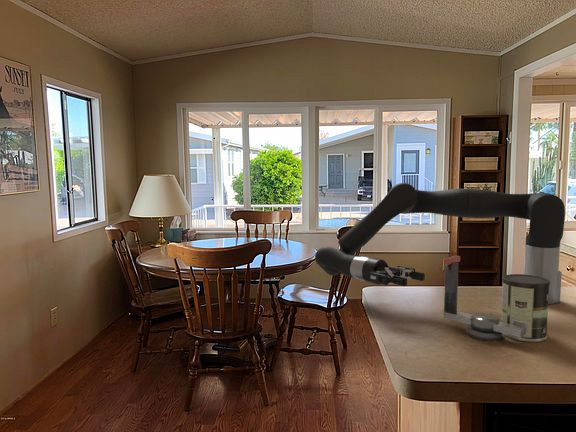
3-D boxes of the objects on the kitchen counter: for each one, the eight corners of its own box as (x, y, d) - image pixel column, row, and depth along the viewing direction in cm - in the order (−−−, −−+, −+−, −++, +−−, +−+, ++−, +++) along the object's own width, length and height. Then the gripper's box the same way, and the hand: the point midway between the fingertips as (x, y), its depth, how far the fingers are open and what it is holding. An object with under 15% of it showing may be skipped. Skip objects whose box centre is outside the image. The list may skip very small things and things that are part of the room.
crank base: (508, 340, 106) (509, 334, 106) (477, 341, 105) (477, 335, 105) (490, 328, 114) (490, 322, 114) (460, 329, 113) (460, 323, 113)
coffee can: (538, 328, 114) (541, 274, 113) (553, 343, 104) (557, 284, 103) (495, 325, 116) (497, 272, 115) (506, 340, 106) (509, 283, 105)
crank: (528, 334, 105) (531, 266, 103) (517, 341, 101) (520, 270, 99) (450, 314, 120) (452, 254, 118) (438, 320, 115) (440, 258, 114)
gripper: (353, 260, 129) (400, 270, 117) (383, 254, 139) (430, 262, 127) (353, 285, 130) (399, 297, 118) (382, 278, 140) (429, 288, 127)
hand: (415, 279), depth 122 cm, fingers open, 8 cm apart
